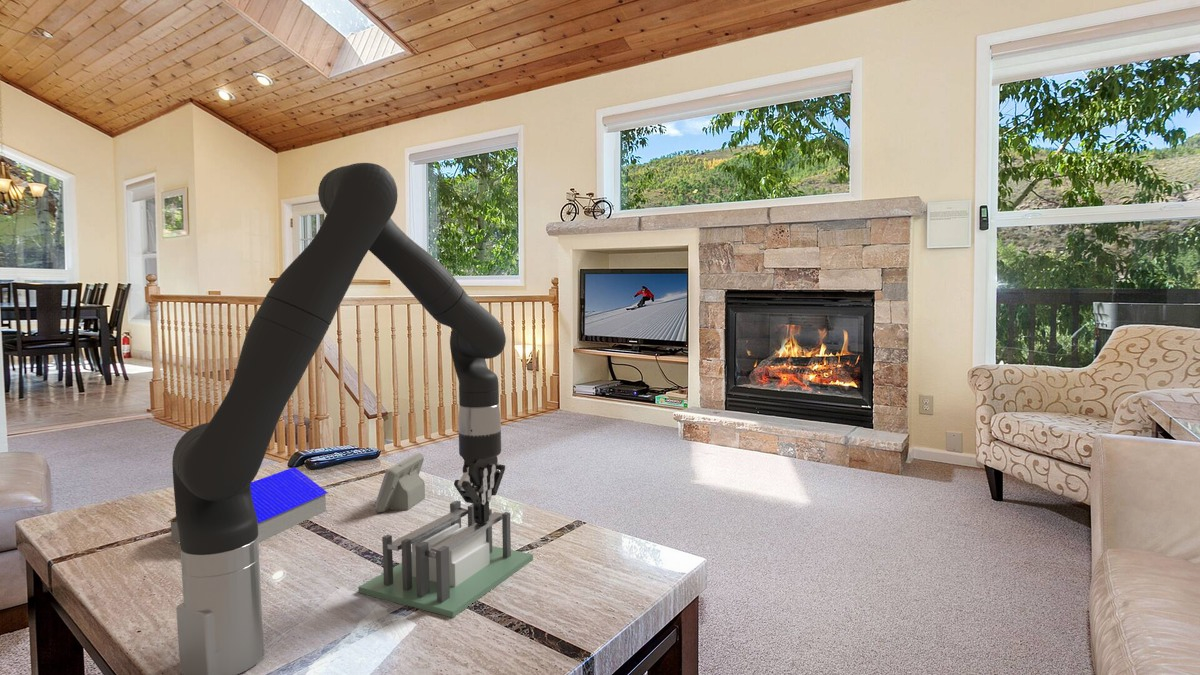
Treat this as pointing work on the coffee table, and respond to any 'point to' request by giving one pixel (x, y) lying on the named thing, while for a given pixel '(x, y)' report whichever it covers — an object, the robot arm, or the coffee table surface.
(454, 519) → the strap
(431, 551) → the strap
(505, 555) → the heatsink board
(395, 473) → the digital clock
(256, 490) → the blue ribbed slab
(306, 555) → the coffee table surface
